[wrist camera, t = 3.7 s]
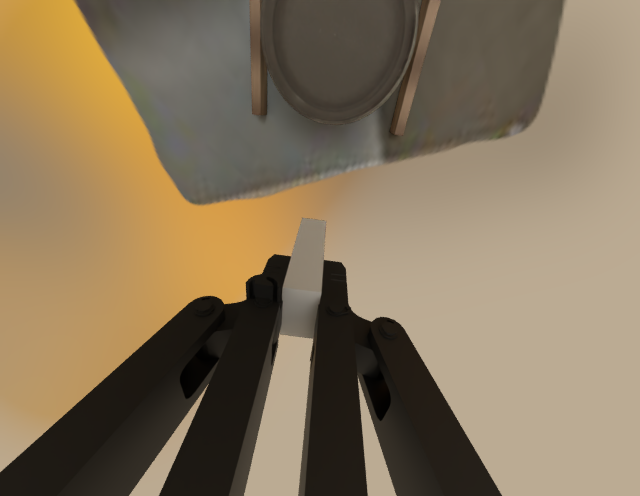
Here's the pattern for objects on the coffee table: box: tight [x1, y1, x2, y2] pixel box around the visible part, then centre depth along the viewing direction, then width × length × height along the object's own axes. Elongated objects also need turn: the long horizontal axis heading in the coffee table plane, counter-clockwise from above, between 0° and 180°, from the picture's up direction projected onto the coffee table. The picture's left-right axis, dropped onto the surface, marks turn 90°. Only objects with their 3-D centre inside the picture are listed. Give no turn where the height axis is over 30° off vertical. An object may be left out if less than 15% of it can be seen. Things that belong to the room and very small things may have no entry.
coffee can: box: [260, 0, 419, 125], centre depth 22 cm, size 10×10×14 cm
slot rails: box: [250, 0, 441, 136], centre depth 26 cm, size 14×18×3 cm
